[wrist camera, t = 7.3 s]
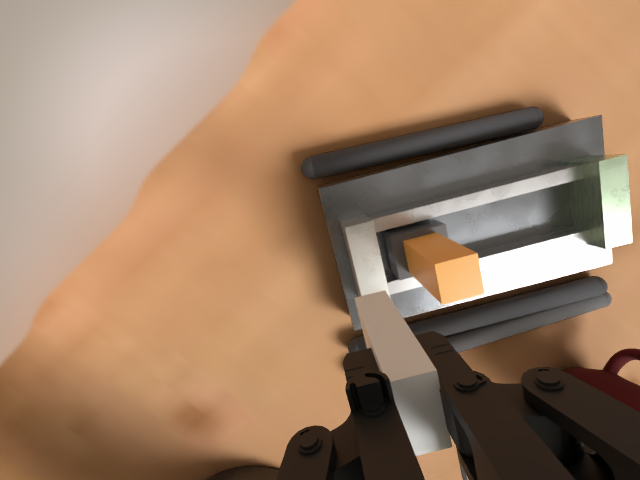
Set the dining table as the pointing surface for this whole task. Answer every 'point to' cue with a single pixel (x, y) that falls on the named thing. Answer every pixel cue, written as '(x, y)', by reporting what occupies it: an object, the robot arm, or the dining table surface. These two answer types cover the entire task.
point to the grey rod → (504, 309)
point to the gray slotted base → (487, 212)
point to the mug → (613, 378)
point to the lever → (434, 261)
